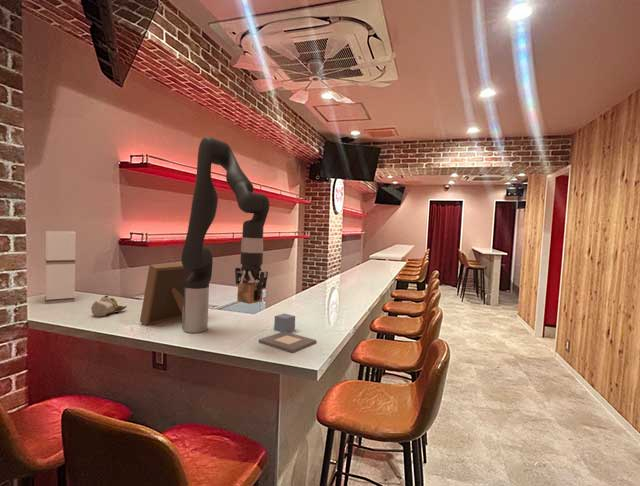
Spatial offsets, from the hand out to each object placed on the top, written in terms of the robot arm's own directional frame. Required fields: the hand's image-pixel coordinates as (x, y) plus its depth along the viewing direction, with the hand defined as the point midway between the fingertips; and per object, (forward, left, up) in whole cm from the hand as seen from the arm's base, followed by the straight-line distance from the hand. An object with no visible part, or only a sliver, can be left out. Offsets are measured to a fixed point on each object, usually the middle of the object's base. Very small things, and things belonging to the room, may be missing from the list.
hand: (249, 299), depth 120 cm
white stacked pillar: (-119, -16, -17) cm, 121 cm away
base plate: (+7, +13, -17) cm, 23 cm away
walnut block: (0, 0, -1) cm, 1 cm away
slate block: (-4, +24, -17) cm, 30 cm away
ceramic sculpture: (-78, -12, -17) cm, 81 cm away
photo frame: (-46, +1, -17) cm, 49 cm away
